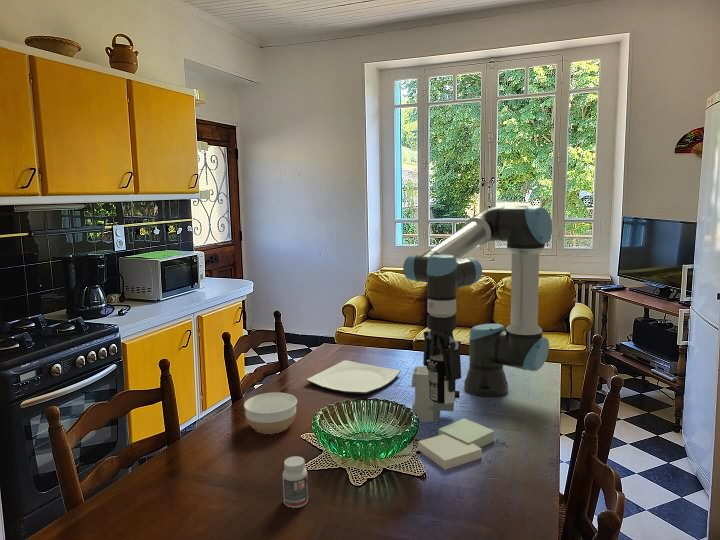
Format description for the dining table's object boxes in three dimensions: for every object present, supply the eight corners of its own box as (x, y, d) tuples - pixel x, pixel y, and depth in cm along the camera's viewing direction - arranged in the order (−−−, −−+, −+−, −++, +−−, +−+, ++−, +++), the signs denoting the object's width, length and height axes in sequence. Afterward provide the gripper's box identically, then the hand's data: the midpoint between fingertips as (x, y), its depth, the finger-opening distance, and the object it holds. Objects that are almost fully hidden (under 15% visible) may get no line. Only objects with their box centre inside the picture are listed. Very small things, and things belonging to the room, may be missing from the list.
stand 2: (453, 439, 150) (453, 431, 150) (481, 457, 139) (481, 448, 139) (418, 450, 144) (418, 441, 144) (445, 469, 134) (445, 460, 133)
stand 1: (464, 427, 157) (464, 418, 157) (494, 440, 149) (494, 430, 148) (438, 439, 150) (438, 429, 150) (468, 453, 142) (468, 442, 141)
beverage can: (455, 396, 143) (455, 354, 141) (451, 405, 137) (451, 361, 135) (431, 393, 146) (431, 351, 144) (426, 402, 139) (426, 359, 138)
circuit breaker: (459, 423, 160) (459, 376, 158) (412, 420, 163) (411, 373, 161) (459, 413, 168) (459, 368, 165) (414, 410, 170) (414, 366, 168)
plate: (405, 376, 203) (405, 369, 203) (367, 401, 179) (367, 394, 179) (344, 364, 218) (344, 358, 218) (301, 386, 195) (301, 380, 194)
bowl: (234, 428, 161) (233, 403, 160) (276, 411, 172) (275, 388, 171) (266, 444, 150) (265, 417, 149) (309, 425, 161) (308, 400, 160)
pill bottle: (312, 503, 121) (311, 462, 119) (290, 512, 118) (288, 470, 116) (301, 491, 125) (299, 452, 124) (279, 499, 122) (277, 459, 121)
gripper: (409, 308, 145) (410, 388, 148) (452, 323, 128) (451, 413, 131) (432, 305, 148) (432, 384, 152) (476, 319, 131) (475, 408, 134)
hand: (441, 397), depth 141 cm, fingers closed on beverage can, 7 cm apart
